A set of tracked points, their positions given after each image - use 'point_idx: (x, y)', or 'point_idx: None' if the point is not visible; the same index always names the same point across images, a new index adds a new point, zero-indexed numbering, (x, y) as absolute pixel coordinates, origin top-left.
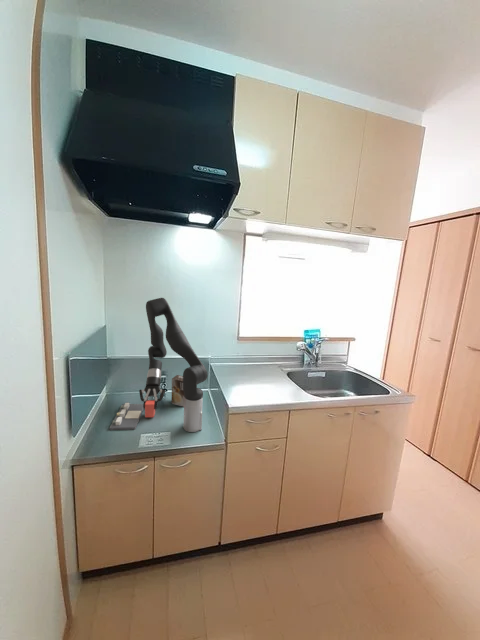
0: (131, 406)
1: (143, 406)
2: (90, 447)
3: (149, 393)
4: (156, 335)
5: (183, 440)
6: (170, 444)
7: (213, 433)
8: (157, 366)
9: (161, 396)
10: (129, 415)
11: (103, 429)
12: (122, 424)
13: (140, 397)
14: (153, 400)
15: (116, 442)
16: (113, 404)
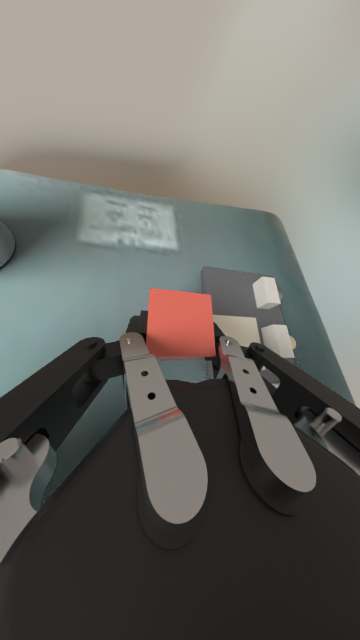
0: None
1: (214, 323)
2: (271, 231)
3: (229, 399)
4: None
5: (35, 194)
6: (84, 192)
7: None
8: None
9: (56, 365)
10: (247, 333)
11: (281, 285)
12: (246, 286)
13: (280, 357)
14: (159, 348)
15: (228, 232)
16: None
